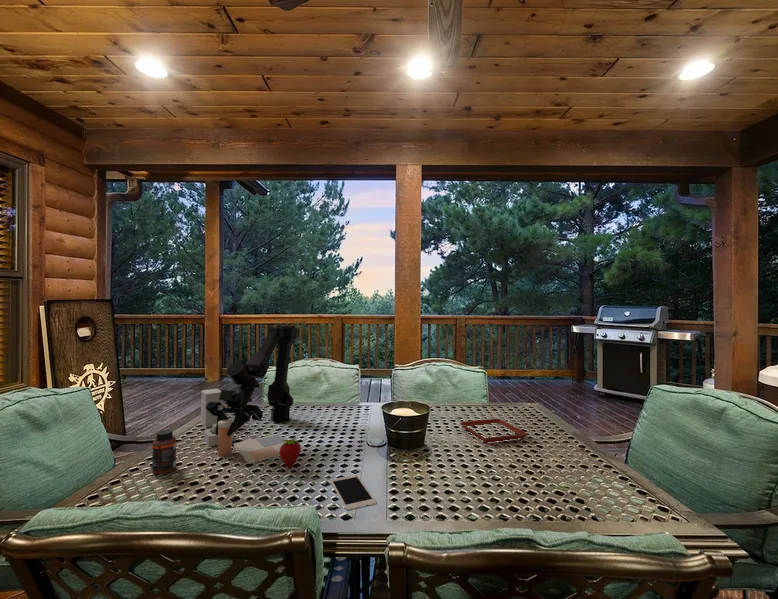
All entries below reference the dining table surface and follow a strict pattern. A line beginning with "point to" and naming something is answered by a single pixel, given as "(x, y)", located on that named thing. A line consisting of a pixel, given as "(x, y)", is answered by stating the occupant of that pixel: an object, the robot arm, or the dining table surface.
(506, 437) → the red square frame
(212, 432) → the button
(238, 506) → the dining table surface
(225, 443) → the capped orange bottle
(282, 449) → the decorative fruit
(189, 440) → the dining table surface
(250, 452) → the sheet
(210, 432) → the button housing
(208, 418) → the small box
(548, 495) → the dining table surface
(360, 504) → the cell phone
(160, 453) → the supplement bottle
